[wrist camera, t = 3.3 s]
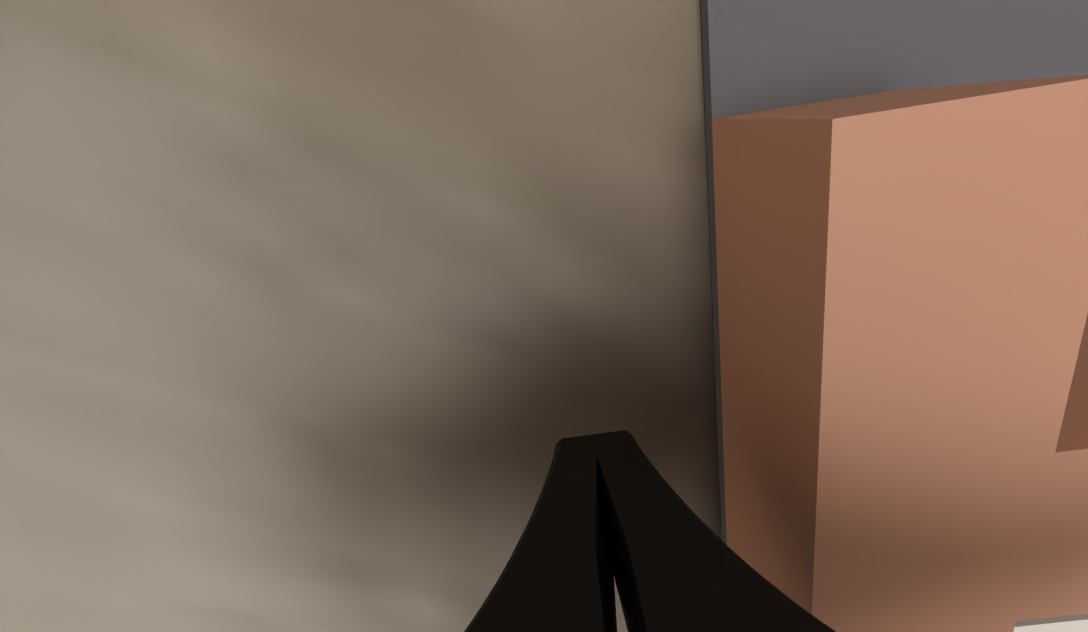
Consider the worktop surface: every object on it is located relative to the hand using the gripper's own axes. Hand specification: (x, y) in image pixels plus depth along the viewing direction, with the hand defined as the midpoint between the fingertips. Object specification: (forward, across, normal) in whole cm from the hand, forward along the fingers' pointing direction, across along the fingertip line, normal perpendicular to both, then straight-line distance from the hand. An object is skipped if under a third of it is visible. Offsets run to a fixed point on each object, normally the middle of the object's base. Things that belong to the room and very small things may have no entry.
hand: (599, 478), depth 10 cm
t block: (+1, -8, 0) cm, 8 cm away
